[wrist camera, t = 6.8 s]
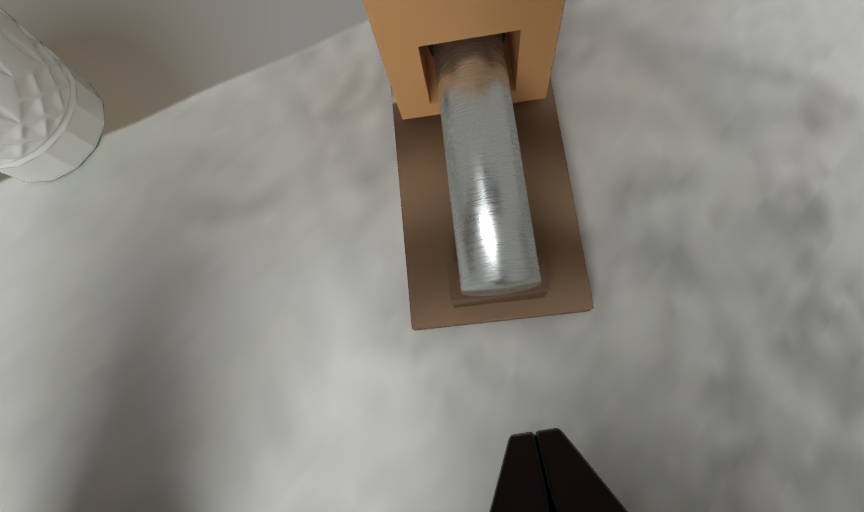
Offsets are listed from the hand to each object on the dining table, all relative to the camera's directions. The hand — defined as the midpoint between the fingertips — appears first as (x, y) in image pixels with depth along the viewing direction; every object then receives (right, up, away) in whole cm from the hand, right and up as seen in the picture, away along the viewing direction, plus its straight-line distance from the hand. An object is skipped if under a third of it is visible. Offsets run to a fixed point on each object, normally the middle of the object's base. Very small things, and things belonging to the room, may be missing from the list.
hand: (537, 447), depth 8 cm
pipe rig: (0, +9, +16) cm, 19 cm away
